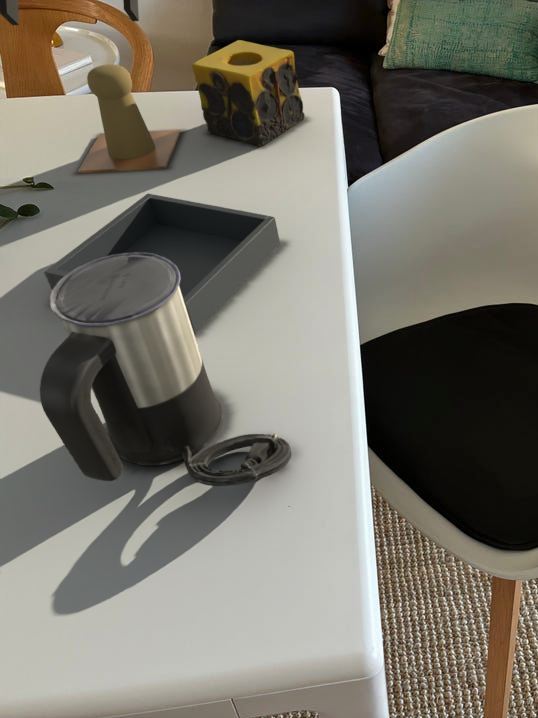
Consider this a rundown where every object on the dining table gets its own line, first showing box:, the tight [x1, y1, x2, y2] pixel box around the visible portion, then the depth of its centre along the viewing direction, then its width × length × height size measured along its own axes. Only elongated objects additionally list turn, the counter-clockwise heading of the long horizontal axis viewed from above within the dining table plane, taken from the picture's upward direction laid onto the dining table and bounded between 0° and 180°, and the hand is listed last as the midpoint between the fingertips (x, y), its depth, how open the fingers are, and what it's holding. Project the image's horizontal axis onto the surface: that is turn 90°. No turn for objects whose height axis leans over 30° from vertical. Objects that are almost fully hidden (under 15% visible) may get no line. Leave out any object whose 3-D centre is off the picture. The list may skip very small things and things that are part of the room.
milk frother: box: [39, 252, 292, 487], centre depth 60 cm, size 14×16×15 cm
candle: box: [191, 39, 305, 147], centre depth 108 cm, size 10×10×10 cm
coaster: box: [77, 129, 181, 174], centre depth 105 cm, size 11×11×1 cm
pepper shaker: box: [86, 63, 155, 159], centre depth 102 cm, size 6×6×11 cm
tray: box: [43, 193, 282, 335], centre depth 83 cm, size 17×17×4 cm
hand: (70, 17), depth 90 cm, fingers open, 13 cm apart
